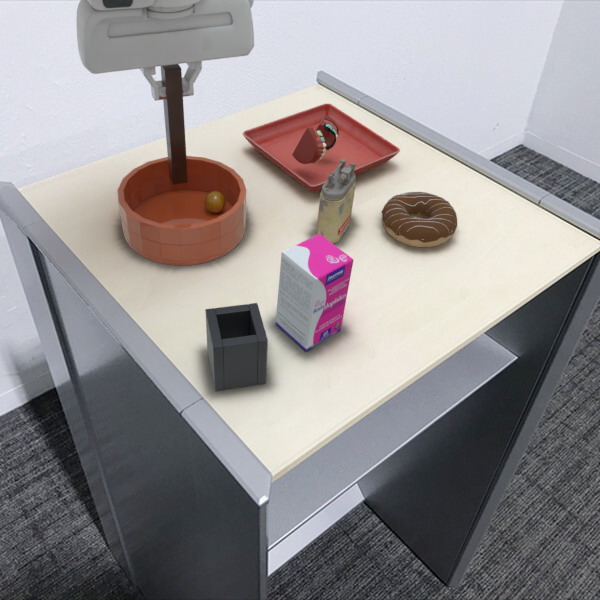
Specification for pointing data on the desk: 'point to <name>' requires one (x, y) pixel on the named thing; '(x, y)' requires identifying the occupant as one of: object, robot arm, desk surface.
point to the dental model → (316, 141)
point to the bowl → (182, 212)
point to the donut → (419, 232)
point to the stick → (175, 123)
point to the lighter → (336, 202)
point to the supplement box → (312, 291)
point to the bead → (215, 202)
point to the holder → (236, 346)
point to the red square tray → (350, 146)
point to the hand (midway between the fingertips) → (172, 96)
